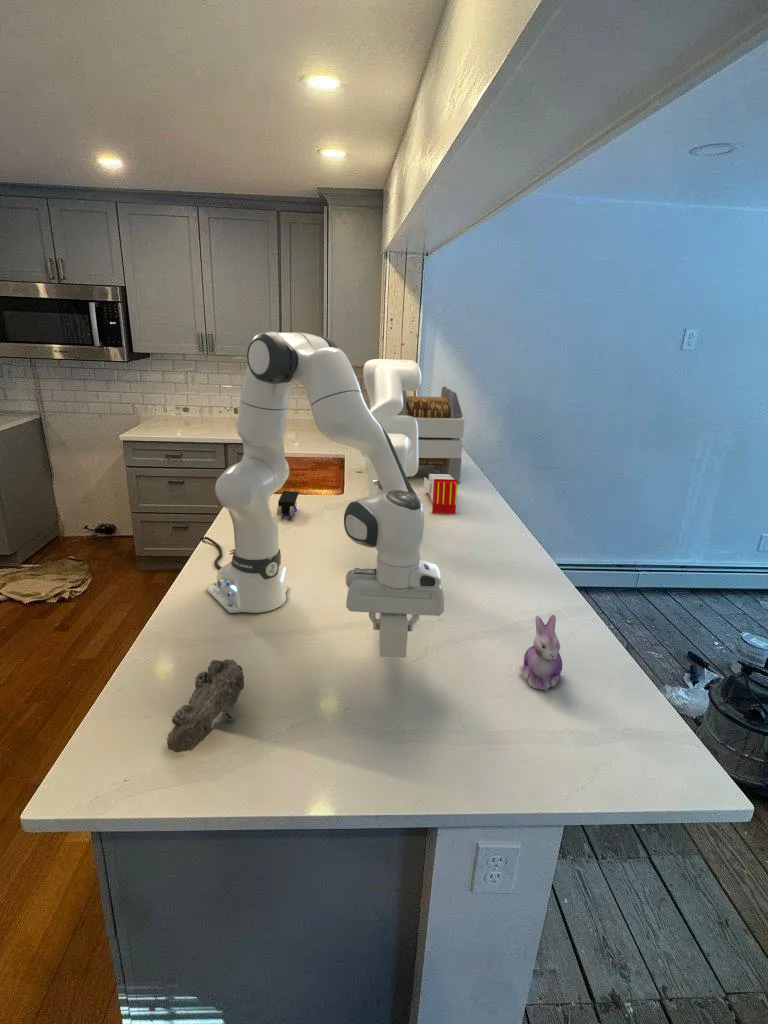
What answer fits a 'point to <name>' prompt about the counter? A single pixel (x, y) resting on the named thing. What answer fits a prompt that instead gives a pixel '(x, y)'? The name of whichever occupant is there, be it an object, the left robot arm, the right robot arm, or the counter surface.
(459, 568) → the counter surface
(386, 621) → the beam
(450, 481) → the toy
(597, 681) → the counter surface
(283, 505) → the figurine character
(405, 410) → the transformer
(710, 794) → the counter surface
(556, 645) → the figurine
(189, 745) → the fossil
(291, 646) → the counter surface
